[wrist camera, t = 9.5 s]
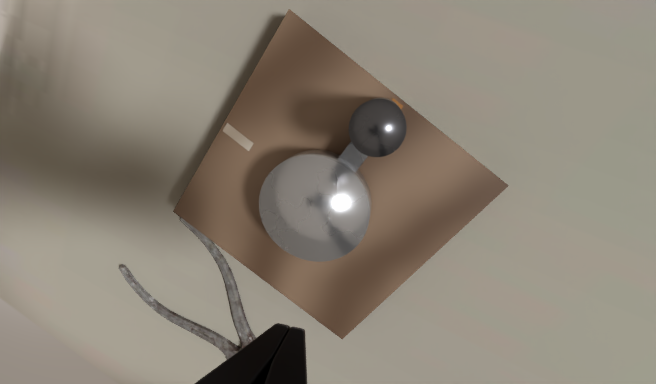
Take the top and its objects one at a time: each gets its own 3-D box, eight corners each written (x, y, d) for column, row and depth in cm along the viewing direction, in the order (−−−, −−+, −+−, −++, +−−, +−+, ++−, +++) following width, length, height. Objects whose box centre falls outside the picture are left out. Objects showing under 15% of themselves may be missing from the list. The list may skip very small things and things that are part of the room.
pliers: (162, 201, 23) (360, 371, 24) (170, 197, 23) (361, 362, 25) (110, 277, 26) (286, 423, 27) (119, 271, 27) (289, 413, 28)
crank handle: (331, 266, 20) (317, 307, 16) (251, 208, 20) (219, 235, 16) (442, 138, 16) (457, 152, 13) (345, 64, 16) (331, 56, 12)
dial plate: (499, 178, 18) (509, 185, 17) (345, 324, 23) (342, 339, 22) (297, 15, 17) (288, 8, 16) (186, 204, 23) (172, 211, 21)
